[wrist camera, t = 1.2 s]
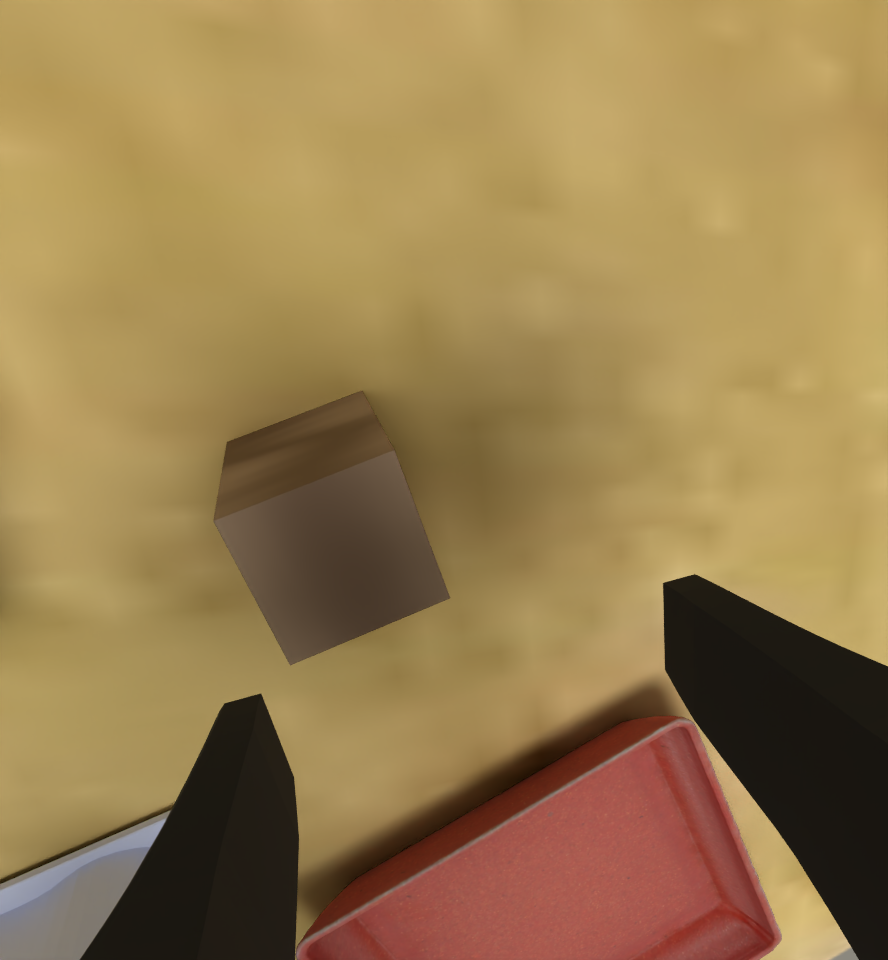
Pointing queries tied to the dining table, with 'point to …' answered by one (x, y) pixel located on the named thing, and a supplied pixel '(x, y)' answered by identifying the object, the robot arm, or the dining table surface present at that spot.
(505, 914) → the plant saucer
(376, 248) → the dining table surface
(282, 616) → the walnut block
